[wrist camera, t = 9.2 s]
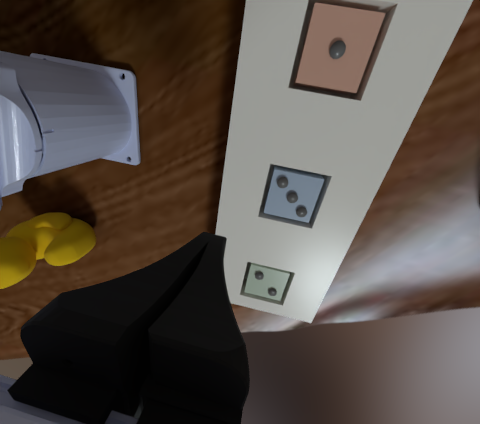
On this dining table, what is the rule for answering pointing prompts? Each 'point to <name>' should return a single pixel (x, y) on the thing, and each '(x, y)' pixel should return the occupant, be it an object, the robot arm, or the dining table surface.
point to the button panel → (318, 139)
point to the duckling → (43, 245)
